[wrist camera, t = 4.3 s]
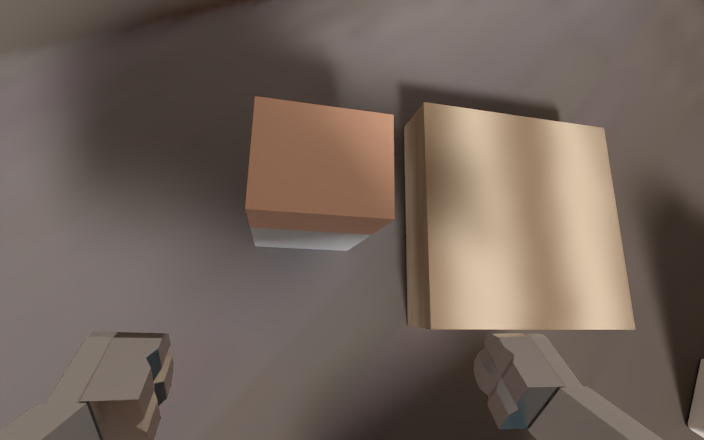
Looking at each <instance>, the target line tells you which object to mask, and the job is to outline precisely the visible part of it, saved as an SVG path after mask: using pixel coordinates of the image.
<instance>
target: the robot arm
mask: <svg viewBox="0 0 704 440" xmlns="http://www.w3.org/2000/svg"><path fill="white" fill-rule="evenodd" d="M484 345H485V349H483V350H482V351H481V352H479V353H478V354H477V356H476V358H475V361H474V375H475V379H476V381H477V384H478V386H479V388H480V389H481V390H482V391H483V392H484V393H485V394H486V395H488V396H489V397H488V402H487V405H488V407H489V410H490V412H491V414H492V416H493V418H494V420H495V422H496V424H497V426H498V429H528V431H529V432H530V433H531V434H532V435H533V436H534V437H535V438H536V439H537V440H663V439H661V438H660V437H658V436H657V435H656V434H654V433H653V432H651V431H650V430H648V429H647V428H646V427H644V426H643V425H641V424H640V423H639V422H637V421H636V420H634V419H633V418H631V417H630V416H629V415H627V414H626V413H624V412H623V411H622V410H620V409H619V408H617V407H616V406H614V405H613V404H612V403H610V402H609V401H607V400H606V399H604V398H603V397H602V396H600V395H599V394H597V393H596V392H595V391H593V390H592V389H590V388H589V387H583V386H582V385H581V383H580V382H579V381H578V379H577V378H576V377H575V375H574V374H573V373H572V371H571V370H570V368H569V367H568V366H567V364H566V363H565V362H564V360H563V359H562V358H561V356H560V355H559V354H558V352H557V351H556V349H555V348H554V347H553V345H552V344H551V343H550V341H549V340H548V339H547V338H546V337H545V336H544V335H542V334H522V333H520V334H490V335H489V336H487V337H486V339H485V341H484ZM169 346H170V339H169V334H166V333H132V332H92V333H91V334H90V335H89V336H88V337H87V338H85V340H84V342H83V343H82V345H81V347H80V348H79V350H78V351H77V353H76V355H75V356H74V358H73V360H72V361H71V363H70V365H69V366H68V368H67V370H66V371H65V373H64V375H63V376H62V378H61V379H60V381H59V383H58V384H57V386H56V388H55V389H54V391H53V393H52V394H51V396H50V398H49V399H48V401H47V402H46V404H37V405H35V406H34V407H33V408H31V409H30V410H28V411H27V412H26V413H24V414H23V415H21V416H20V417H19V418H17V419H16V420H15V421H13V422H12V423H10V424H9V425H8V426H6V427H5V428H3V429H2V430H1V431H0V440H154V437H155V434H156V431H157V428H158V425H159V422H160V419H161V416H160V411H159V405H160V404H161V403H162V402H163V401H164V400H165V399H167V396H168V393H169V389H170V386H171V381H172V375H173V358H172V356H171V355H170V354H169V353H168V349H169Z"/></svg>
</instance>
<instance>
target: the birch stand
mask: <svg viewBox="0 0 704 440" xmlns="http://www.w3.org/2000/svg"><path fill="white" fill-rule="evenodd" d="M404 148H405V205H406V261H407V318H408V325H409V326H415V327H420V328H426V329H552V330H635V324H634V318H633V311H632V305H631V298H630V292H629V286H628V279H627V273H626V267H625V260H624V254H623V247H622V241H621V235H620V228H619V222H618V216H617V209H616V203H615V196H614V190H613V184H612V177H611V171H610V165H609V158H608V152H607V145H606V139H605V133H604V128H599V127H592V126H585V125H579V124H572V123H565V122H558V121H551V120H544V119H537V118H531V117H524V116H517V115H510V114H503V113H496V112H489V111H483V110H476V109H469V108H462V107H455V106H448V105H441V104H434V103H428V102H423V103H422V105H421V106H420V107H419V109H418V110H417V111H416V113H415V114H414V115H413V116H412V118H411V119H410V120H409V122H408V123H407V124H406V125H405V127H404Z"/></svg>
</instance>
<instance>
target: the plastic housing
mask: <svg viewBox="0 0 704 440" xmlns="http://www.w3.org/2000/svg"><path fill="white" fill-rule="evenodd" d="M245 211H246V214H247V218H248V222H249V226H250V229H251V233H252V237H253V241H254V244H255V246H261V247H282V248H302V249H322V250H343V251H347V250H349V249H350V248H352V247H354V246H355V245H357V244H358V243H360V242H361V241H363V240H364V239H366V238H367V237H369V236H370V235H372V234H373V233H375V232H376V231H378V230H379V229H381V228H382V227H384V226H385V225H387V224H388V223H390V222H391V221H393V220H394V219H395V199H394V115H391V114H384V113H377V112H369V111H362V110H354V109H347V108H339V107H332V106H325V105H317V104H310V103H302V102H295V101H287V100H280V99H273V98H265V97H258V96H255V101H254V113H253V124H252V135H251V147H250V158H249V169H248V181H247V192H246V203H245Z"/></svg>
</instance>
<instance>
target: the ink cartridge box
mask: <svg viewBox="0 0 704 440" xmlns="http://www.w3.org/2000/svg"><path fill="white" fill-rule="evenodd" d="M688 428H690V429H691V430H692V431H694V432H695V433H697V434H698V435H700V436H701V437H703V438H704V359H701V361H700V366H699V371H698V376H697V381H696V386H695V391H694V395H693V400H692V405H691V410H690V415H689V420H688Z"/></svg>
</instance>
